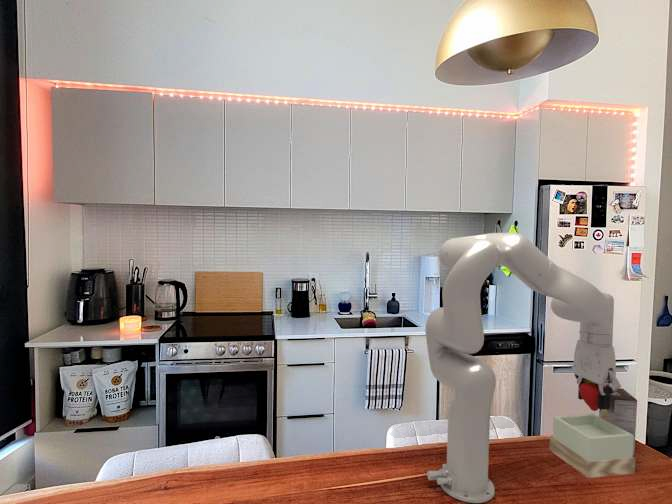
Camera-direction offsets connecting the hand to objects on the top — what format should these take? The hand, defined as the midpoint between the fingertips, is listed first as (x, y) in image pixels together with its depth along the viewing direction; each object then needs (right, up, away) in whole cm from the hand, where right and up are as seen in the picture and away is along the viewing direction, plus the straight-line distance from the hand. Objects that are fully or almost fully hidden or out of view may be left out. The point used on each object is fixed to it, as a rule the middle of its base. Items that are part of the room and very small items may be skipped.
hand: (593, 403), depth 111 cm
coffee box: (+12, -16, +9) cm, 22 cm away
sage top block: (-1, -12, 0) cm, 12 cm away
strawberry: (0, -2, 0) cm, 2 cm away
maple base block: (-1, -17, +1) cm, 17 cm away
